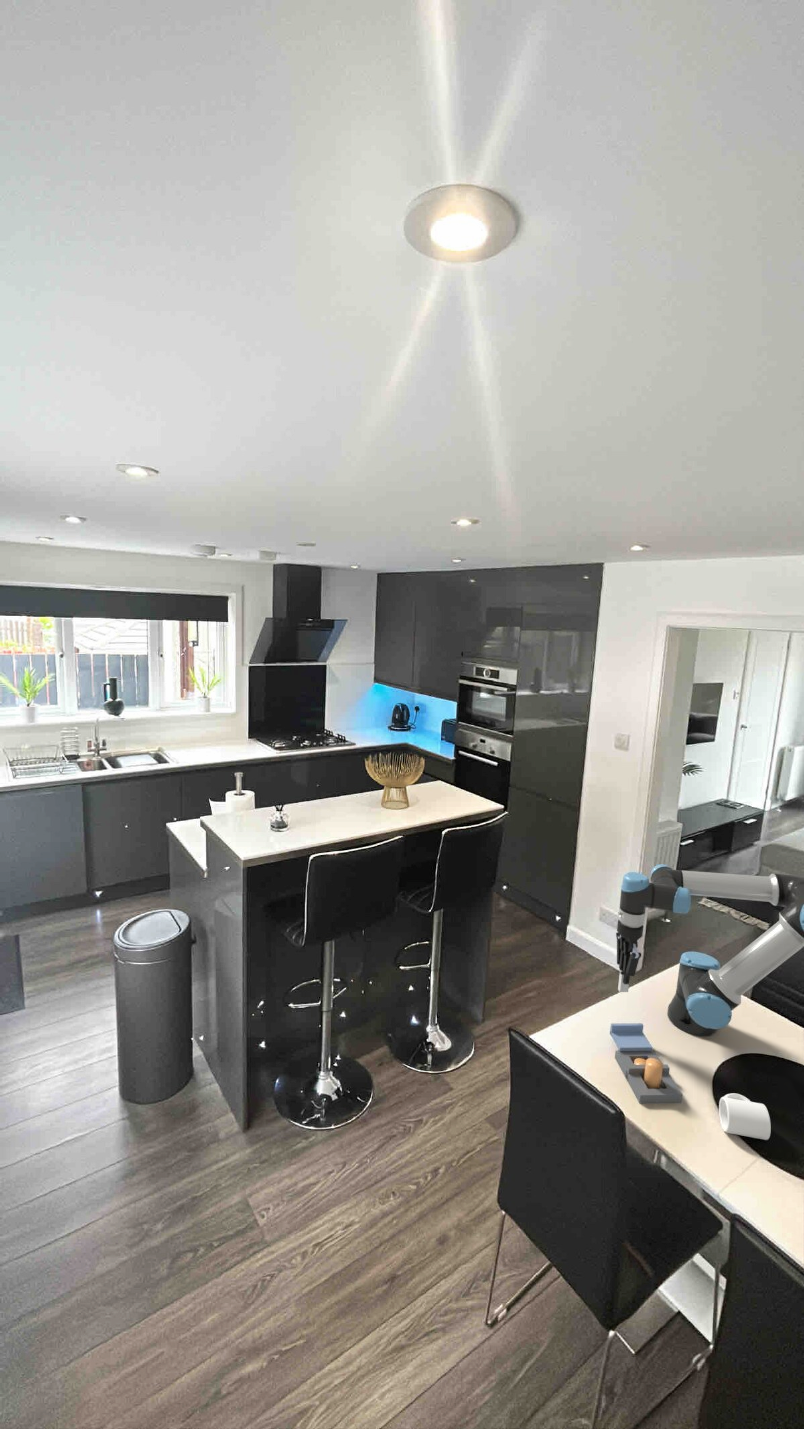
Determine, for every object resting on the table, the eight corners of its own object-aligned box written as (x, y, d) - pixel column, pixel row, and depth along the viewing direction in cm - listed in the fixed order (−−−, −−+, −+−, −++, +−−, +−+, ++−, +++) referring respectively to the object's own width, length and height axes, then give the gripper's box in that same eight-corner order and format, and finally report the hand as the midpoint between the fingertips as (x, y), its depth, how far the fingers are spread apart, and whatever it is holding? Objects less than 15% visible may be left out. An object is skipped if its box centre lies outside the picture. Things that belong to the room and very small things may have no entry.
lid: (640, 1033, 194) (642, 1023, 193) (652, 1050, 187) (653, 1040, 186) (609, 1033, 193) (610, 1023, 193) (619, 1051, 186) (620, 1040, 185)
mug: (768, 1148, 158) (773, 1121, 156) (726, 1139, 160) (730, 1113, 158) (752, 1110, 169) (756, 1085, 168) (713, 1103, 171) (716, 1078, 170)
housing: (653, 1057, 188) (654, 1045, 187) (681, 1102, 171) (683, 1089, 170) (614, 1057, 187) (616, 1045, 186) (639, 1103, 170) (641, 1089, 169)
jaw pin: (662, 1094, 174) (665, 1069, 172) (647, 1094, 173) (650, 1069, 172) (655, 1082, 178) (658, 1057, 176) (640, 1082, 178) (643, 1058, 176)
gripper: (610, 911, 198) (603, 978, 202) (628, 933, 185) (620, 1004, 190) (633, 911, 199) (625, 978, 203) (652, 933, 186) (643, 1003, 190)
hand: (623, 990), depth 196 cm, fingers closed
